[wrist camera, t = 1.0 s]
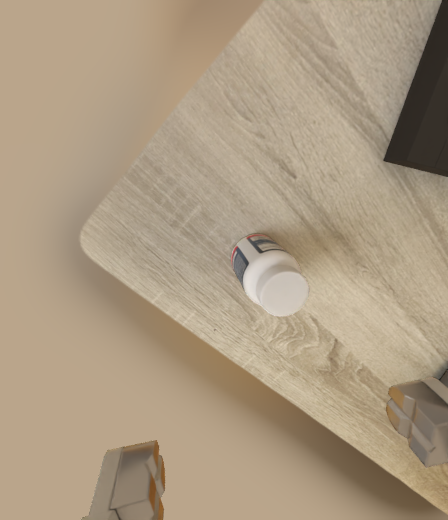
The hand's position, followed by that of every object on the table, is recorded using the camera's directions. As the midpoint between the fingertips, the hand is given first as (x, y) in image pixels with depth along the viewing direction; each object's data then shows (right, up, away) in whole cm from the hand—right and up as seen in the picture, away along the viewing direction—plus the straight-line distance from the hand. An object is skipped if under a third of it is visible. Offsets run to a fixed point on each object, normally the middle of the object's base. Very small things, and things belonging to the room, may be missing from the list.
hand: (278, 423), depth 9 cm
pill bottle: (+1, +6, +20) cm, 21 cm away
